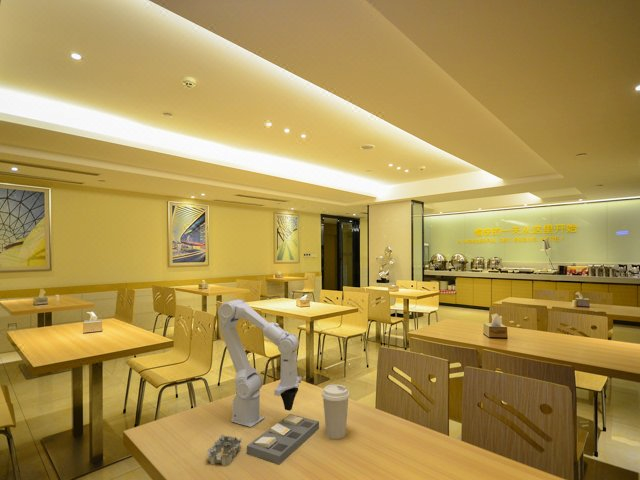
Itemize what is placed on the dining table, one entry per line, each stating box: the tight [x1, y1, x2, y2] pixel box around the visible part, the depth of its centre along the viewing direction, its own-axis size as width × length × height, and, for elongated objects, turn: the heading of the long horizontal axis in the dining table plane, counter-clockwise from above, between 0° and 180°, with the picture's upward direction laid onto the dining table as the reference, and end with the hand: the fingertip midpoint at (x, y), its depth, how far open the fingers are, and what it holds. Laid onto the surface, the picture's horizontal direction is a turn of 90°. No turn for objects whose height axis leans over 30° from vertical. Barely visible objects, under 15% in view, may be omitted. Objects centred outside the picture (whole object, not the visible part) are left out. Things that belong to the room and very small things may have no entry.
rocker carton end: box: [255, 437, 276, 448], centre depth 109 cm, size 5×4×1 cm
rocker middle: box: [269, 422, 290, 437], centre depth 116 cm, size 5×4×1 cm
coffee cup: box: [321, 384, 351, 440], centre depth 118 cm, size 10×10×15 cm
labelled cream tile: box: [283, 414, 303, 426], centre depth 123 cm, size 5×4×1 cm
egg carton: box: [207, 434, 242, 467], centre depth 106 cm, size 11×8×4 cm
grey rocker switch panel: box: [246, 413, 320, 465], centre depth 115 cm, size 12×24×2 cm, turn 152°
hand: (288, 409), depth 124 cm, fingers closed
